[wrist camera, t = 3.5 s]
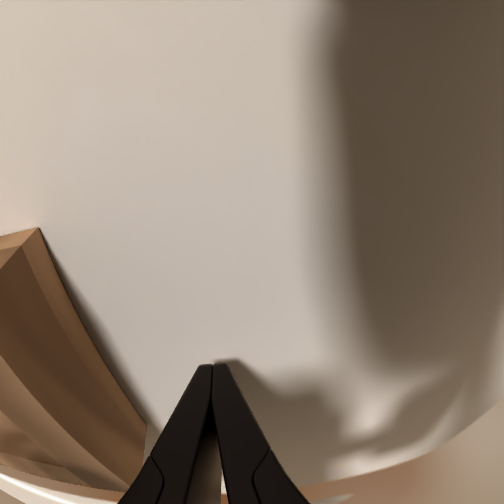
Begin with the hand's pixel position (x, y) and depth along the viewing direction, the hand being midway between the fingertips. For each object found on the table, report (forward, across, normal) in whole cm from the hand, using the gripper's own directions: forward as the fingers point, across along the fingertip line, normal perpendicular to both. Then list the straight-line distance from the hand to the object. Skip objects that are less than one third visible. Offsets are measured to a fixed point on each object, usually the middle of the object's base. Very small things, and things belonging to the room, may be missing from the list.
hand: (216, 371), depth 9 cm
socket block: (+1, +9, 0) cm, 9 cm away
